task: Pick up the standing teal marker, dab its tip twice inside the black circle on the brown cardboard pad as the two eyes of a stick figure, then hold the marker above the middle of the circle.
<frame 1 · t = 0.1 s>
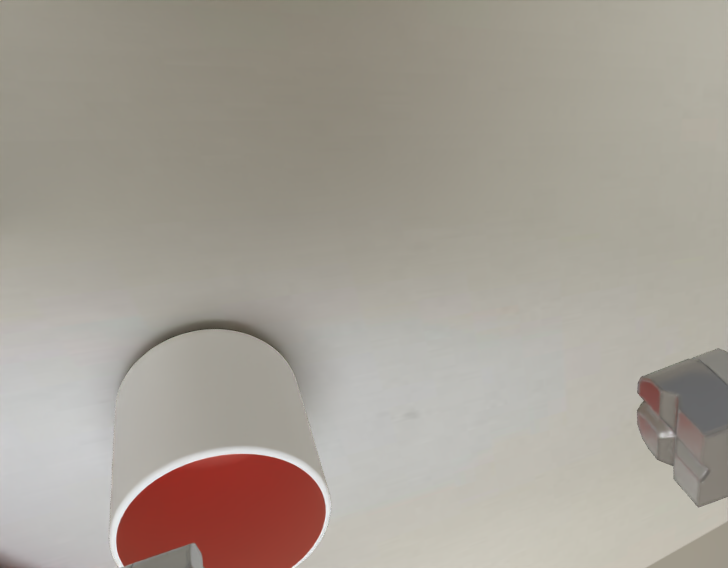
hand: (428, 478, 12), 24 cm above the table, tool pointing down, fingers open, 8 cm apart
cup: (207, 388, 40), on the table
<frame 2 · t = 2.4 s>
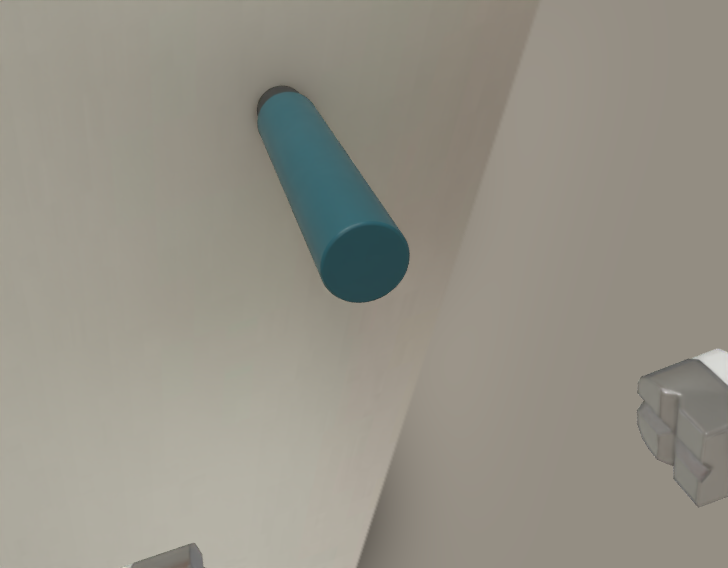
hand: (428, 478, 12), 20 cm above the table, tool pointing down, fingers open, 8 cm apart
marker: (281, 109, 28), on the table
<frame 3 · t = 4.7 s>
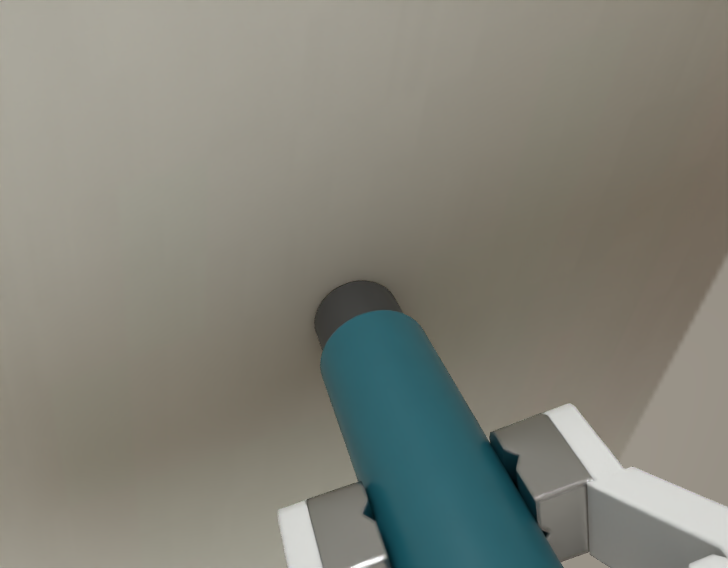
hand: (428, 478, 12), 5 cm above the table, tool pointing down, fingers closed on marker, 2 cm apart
marker: (355, 316, 16), on the table, touching gripper
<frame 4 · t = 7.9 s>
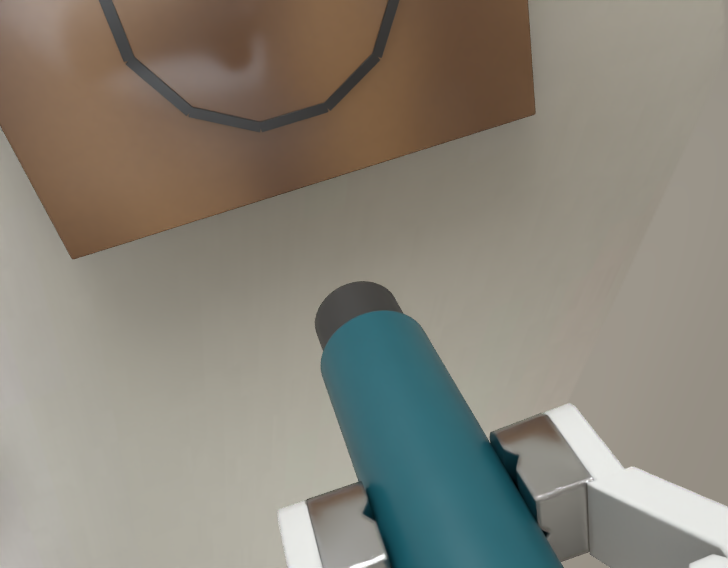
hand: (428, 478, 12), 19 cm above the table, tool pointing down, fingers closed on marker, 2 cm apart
marker: (356, 316, 16), point 14 cm above the table, touching gripper
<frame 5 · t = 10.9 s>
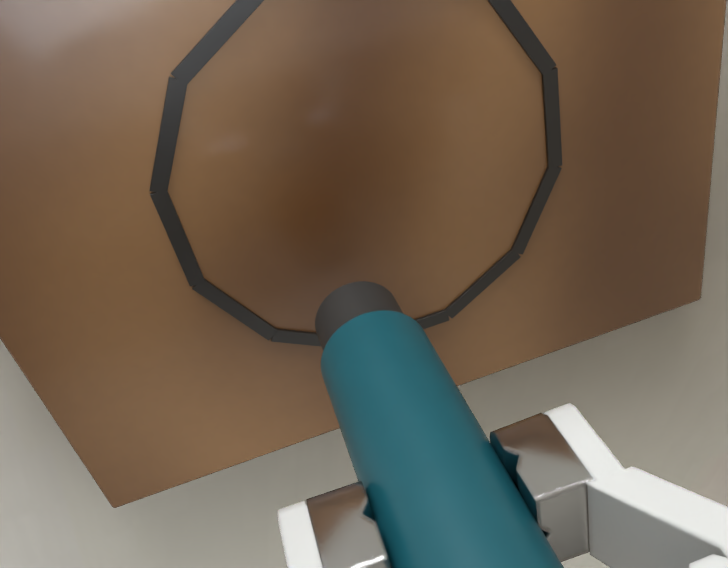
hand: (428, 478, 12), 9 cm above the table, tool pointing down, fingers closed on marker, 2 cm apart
pad: (360, 162, 18), on the table
marker: (356, 316, 16), point 4 cm above the table, touching gripper
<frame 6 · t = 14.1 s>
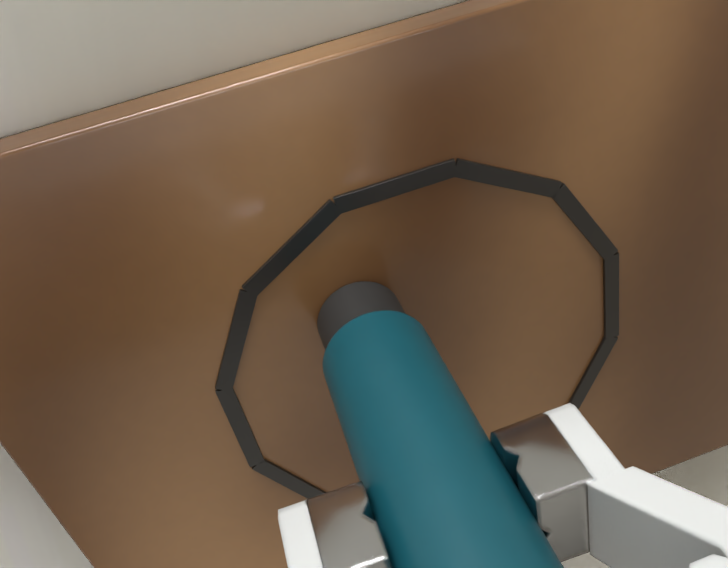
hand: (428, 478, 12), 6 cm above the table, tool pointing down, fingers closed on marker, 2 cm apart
pad: (418, 336, 18), on the table
marker: (358, 316, 16), point 1 cm above the table, touching gripper, pad
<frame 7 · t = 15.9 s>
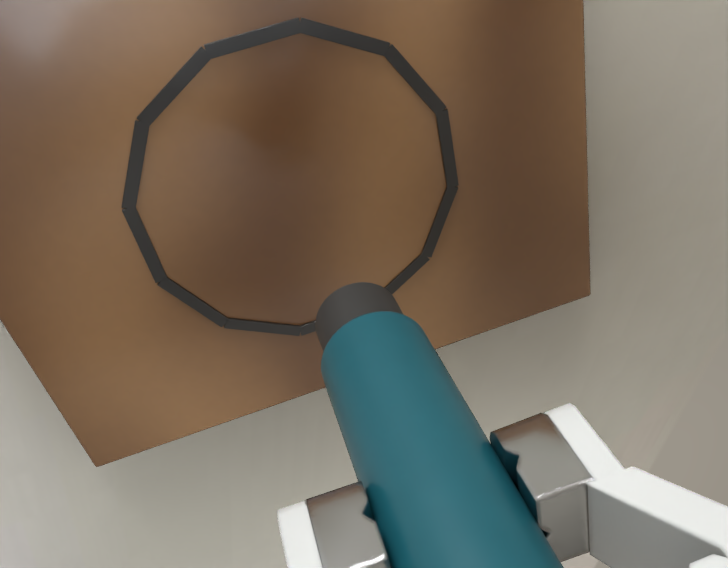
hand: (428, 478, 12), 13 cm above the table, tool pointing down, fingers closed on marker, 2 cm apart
pad: (294, 183, 23), on the table
marker: (356, 317, 16), point 8 cm above the table, touching gripper
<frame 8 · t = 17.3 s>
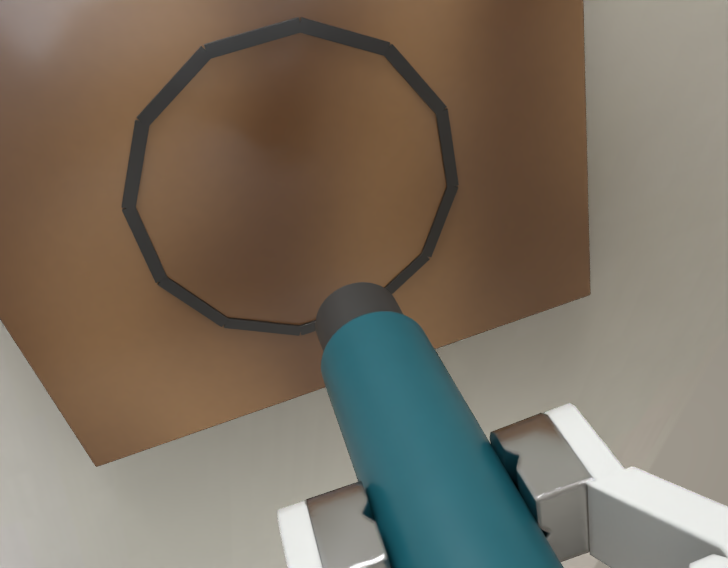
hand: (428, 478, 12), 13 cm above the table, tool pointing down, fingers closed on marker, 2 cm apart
pad: (294, 183, 23), on the table
marker: (356, 317, 16), point 8 cm above the table, touching gripper
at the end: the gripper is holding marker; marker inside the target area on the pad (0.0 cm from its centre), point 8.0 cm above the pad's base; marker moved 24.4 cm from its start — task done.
